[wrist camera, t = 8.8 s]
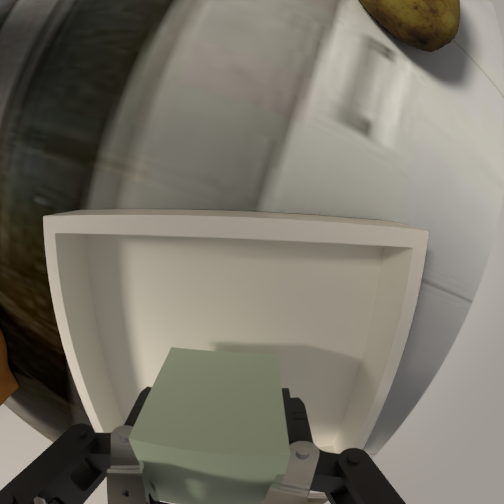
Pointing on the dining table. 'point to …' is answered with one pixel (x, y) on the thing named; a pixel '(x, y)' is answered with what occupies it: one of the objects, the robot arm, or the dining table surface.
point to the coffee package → (5, 373)
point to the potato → (418, 20)
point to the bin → (236, 304)
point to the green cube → (213, 428)
